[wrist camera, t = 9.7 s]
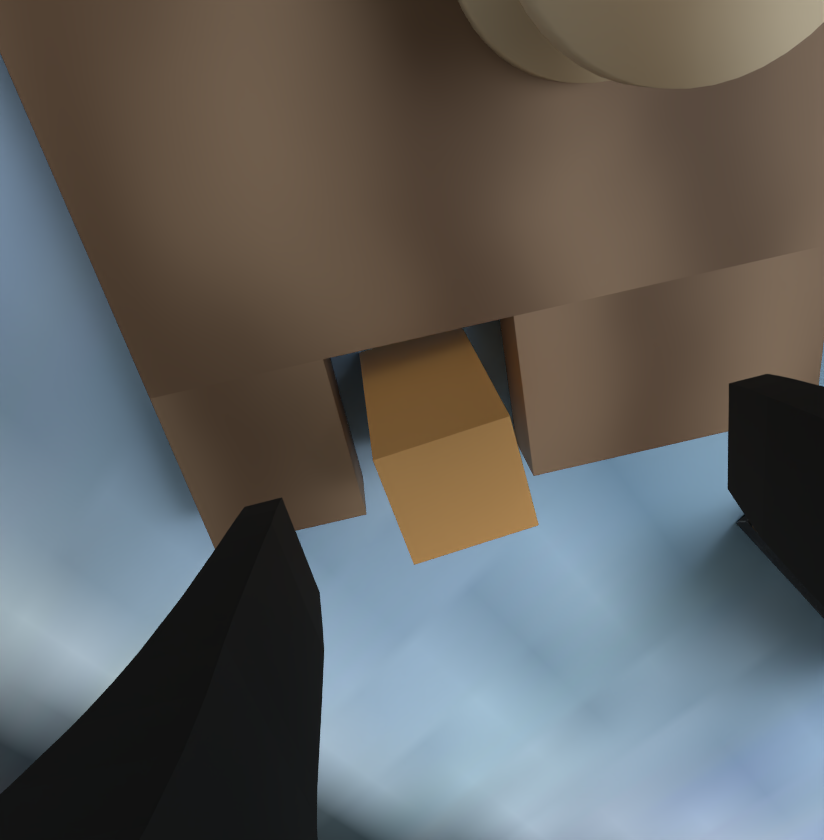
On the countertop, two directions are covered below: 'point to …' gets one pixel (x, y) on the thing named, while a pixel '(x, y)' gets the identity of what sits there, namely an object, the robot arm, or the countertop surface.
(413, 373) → the block
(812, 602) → the ammunition clip
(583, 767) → the countertop surface
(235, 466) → the notched board
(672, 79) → the mushroom shaped handle
